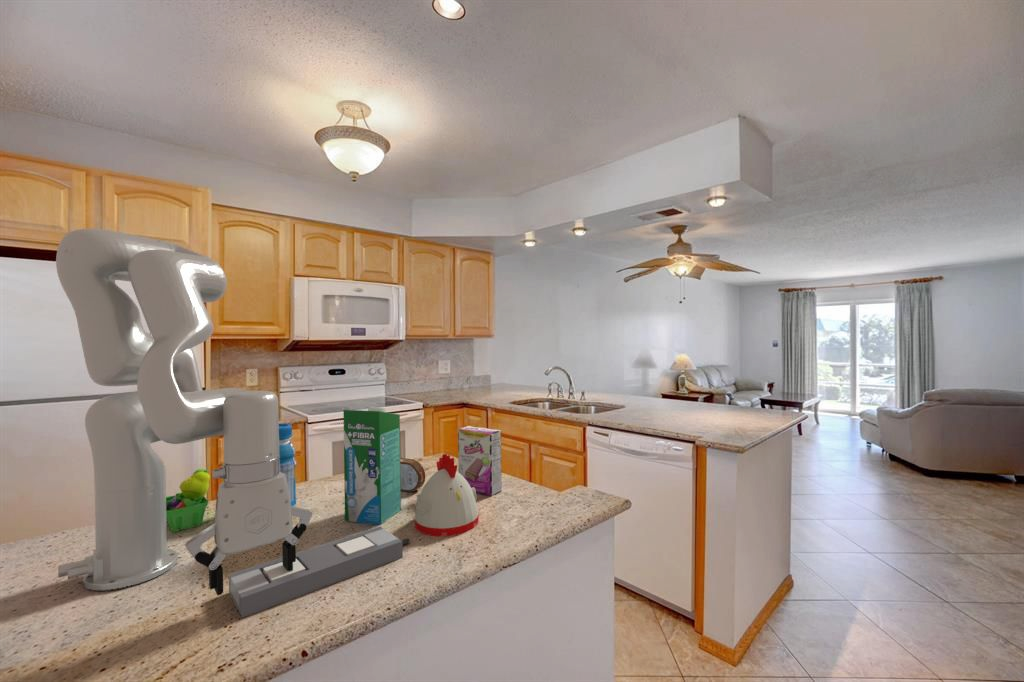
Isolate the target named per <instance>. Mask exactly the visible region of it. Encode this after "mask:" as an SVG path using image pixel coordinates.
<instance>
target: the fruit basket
mask: <svg viewBox="0 0 1024 682" xmlns="http://www.w3.org/2000/svg"><path fill="white" fill-rule="evenodd" d="M208 472H209V471H208V470H207V469H204V468H199V469H196V470H195V471H194V472H193V473H192V475H191V476H190V477H187V478H186V479H184V480H183V481H182V482H180V485H179V490H180V491H181V492H176V493H175V495H170V496H166V523H167V524H168V525H169V527H170V529H171V531H172V532H173V533H174V532H177V531H182V530H186V529H190V528H193V527H198V526H202V523H203V520H204V517H205V513H206V508H207V506H208V504H209V500H208V499H207V498H206V497H205V495H206V494H207V493H208V491H209V487H210V483H209V482H210V480H211V475H210V474H209V473H208Z"/></svg>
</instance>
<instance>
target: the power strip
mask: <svg viewBox="0 0 1024 682" xmlns="http://www.w3.org/2000/svg"><path fill="white" fill-rule="evenodd" d="M362 536H363V537H365V538H366V539H367V540H369V541H370V542H371V543H373V544H374V545H375V547H373V548H370V549H367V550H364V551H361V552H358V553H355V554H352V555H349V556H347V557H346V556H344V555H343V554H342V553H341V552H340V551H339V550H338V549H337V547H336V545H337V544H340V543H343V542H346V541H349V540H352V539H355V538H359V537H362ZM410 541H411V539H410V538H409V537H405V538H403V539H400V538H398V537H397V536H395V535H394V534H392V532H389V531H388V530H386V529H384V527H382V526H378V527H375V528H371V529H368V530H364V531H362V532H359V533H355V534H352V535H349V536H345V537H343V538H340V539H336V540H333V541H330V542H326V543H323V544H320V545H317V546H314V547H310V548H307V549H304V550H302V551H297V552H296V559H297V560H298V561H299V562H300V563H301V564H302V565H303V566H304V568H305V571H303V572H300V573H297V574H294V575H292V576H289V577H286V578H283V579H280V580H277V581H274V582H271V583H269V582H268V581H267V580H266V578H265V577H264V575H263V568H265V567H268V566H271V565H275V564H278V563H281V562H283V556H282V557H280V558H276V559H272V560H270V561H267V562H263V563H260V564H257V565H254V566H250V567H247V568H244V569H241V570H238V571H233V572H232V573H229V574H228V594H229V595H230V598H231V600H232V601H233V604H234V605H235V608H236V607H237V608H236V609H238V610H237V612H238V611H239V612H238V613H240V614H239V616H240V615H241V616H240V618H241V617H244V618H246V617H245V616H247V617H249V616H251V615H254V613H255V614H258V613H259V612H263V611H264V610H267V609H271V608H273V607H275V606H278V605H280V604H283V603H284V604H285V603H286V602H288V601H292V600H293V599H296V598H299V597H302V596H304V595H307V594H309V593H312V592H315V591H317V590H321V589H323V588H325V587H328V586H331V585H333V584H336V583H339V582H342V581H344V580H347V579H349V578H352V577H354V576H357V575H359V574H362V573H365V572H368V571H371V570H374V569H376V568H378V567H381V566H383V565H386V564H389V563H391V562H394V561H397V560H399V559H402V558H403V556H404V555H403V546H404V545H407V544H409V543H410ZM248 615H249V616H248Z"/></svg>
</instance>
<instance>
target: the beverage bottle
mask: <svg viewBox="0 0 1024 682" xmlns="http://www.w3.org/2000/svg"><path fill="white" fill-rule="evenodd" d="M292 436H293V427H292V424H290V423H279V460H280V472H281V473H284V474H285V475H286V479H287V483H288V488H289V494H290V502H291V506H294V507H297V506H296V505H297V497H296V496H297V495H296V493H297V490H296V489H297V487H296V486H297V485H296V479H297V477H296V469H297V468H296V467H297V459H296V458H295V455H296V453H297V452H296V449H295V446H294V444H293V443H292V441H290V440H291V439H292V438H293V437H292Z"/></svg>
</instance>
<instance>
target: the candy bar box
mask: <svg viewBox="0 0 1024 682" xmlns="http://www.w3.org/2000/svg"><path fill="white" fill-rule="evenodd" d="M457 437H458V438H457V441H458V443H457V449H458V450H457V453H458V454H457V455H458V456H457V457H458V458H457V459H458V463H457V466H458V473H460V474H461V475H462V476H463V477H464V478H465V479H466V481H467V482H468V483H469V485H470V487H471V488H472V487H474V488H475V490H476V492H477V493H476V494H480V495H481V494H482V495H485V496H491V497H492V496H493V497H494V496H495V495H496V493H497V494H499V493H500V492H502V430H500V429H495V428H487V427H478V426H473V425H467V426H464V427H459V428H458V429H457Z"/></svg>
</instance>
